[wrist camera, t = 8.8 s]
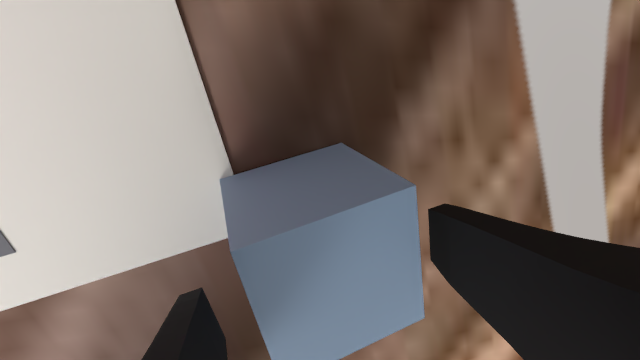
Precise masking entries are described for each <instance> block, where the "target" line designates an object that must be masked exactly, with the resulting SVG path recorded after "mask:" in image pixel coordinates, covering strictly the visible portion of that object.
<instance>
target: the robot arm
mask: <svg viewBox="0 0 640 360" xmlns="http://www.w3.org/2000/svg"><path fill="white" fill-rule="evenodd" d="M428 214H429V235H430V256H431V261H432V262H433V263H434V265H435V266H436V267H437V269H438V270H439V271H440V273H441V274H442V275H443V276H444V278H445V279H446V280H447V281H448V283H449V284H450V285H451V286H452V287H453V288H454V289H455V290H456V291H457V292H458V293H459V294H460V295H461V296H462V297H463V298H464V299H465V300H466V301H467V302H468V303H469V304H470V305H471V306H472V307H473V308H474V309H475V310H476V311H477V312H478V313H479V314H480V315H481V316H482V317H483V318H484V319H485V320H486V321H487V322H488V323H489V324H490V325H491V326H492V327H493V328H494V329H495V330H496V331H497V332H498V333H499V334H500V335H501V336H502V337H503V338H504V339H505V340H506V341H507V342H508V343H509V344H510V345H511V346H512V347H513V348H514V350H515V351H516V352H517V353H518V354H519V355H520V356H521V357H522V358H523V359H524V360H640V248H636V247H630V246H623V245H617V244H612V243H606V242H600V241H594V240H589V239H583V238H579V237H574V236H569V235H565V234H561V233H556V232H552V231H548V230H543V229H539V228H535V227H531V226H527V225H524V224H520V223H516V222H512V221H509V220H505V219H501V218H498V217H494V216H491V215H487V214H484V213H480V212H476V211H473V210H469V209H465V208H462V207H458V206H453V205H449V204H442V205H439V206H437V207H434V208H431V209H428ZM142 360H227V350H226V340H225V336H224V334H223V332H222V330H221V328H220V325H219V323H218V321H217V319H216V317H215V315H214V312H213V310H212V308H211V306H210V304H209V302H208V299H207V297H206V295H205V293H204V291H203V289H202V288H199V289H196V290H194V291H191V292H188V293H185V294H182V295H180V296H179V297H178V299H177V301H176V302H175V304H174V306H173V307H172V309H171V311H170V312H169V314H168V316H167V318H166V319H165V321H164V323H163V325H162V326H161V328H160V330H159V331H158V333H157V335H156V337H155V338H154V340H153V342H152V343H151V345H150V347H149V348H148V350H147V352H146V353H145V355H144V357H143V358H142Z"/></svg>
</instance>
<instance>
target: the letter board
mask: <svg viewBox="0 0 640 360" xmlns="http://www.w3.org/2000/svg"><path fill="white" fill-rule="evenodd" d="M232 175H234V174H233V171H232V168H231V165H230V162H229V159H228V156H227V153H226V150H225V147H224V144H223V141H222V138H221V135H220V132H219V129H218V126H217V123H216V120H215V117H214V114H213V111H212V108H211V105H210V102H209V99H208V97H207V94H206V91H205V88H204V85H203V82H202V79H201V76H200V73H199V70H198V67H197V64H196V61H195V58H194V55H193V52H192V49H191V46H190V43H189V40H188V37H187V34H186V31H185V28H184V25H183V22H182V19H181V16H180V13H179V10H178V7H177V4H176V1H175V0H0V311H3V310H6V309H9V308H12V307H15V306H19V305H22V304H25V303H28V302H31V301H34V300H37V299H40V298H43V297H46V296H50V295H53V294H56V293H59V292H62V291H65V290H68V289H71V288H74V287H77V286H81V285H84V284H87V283H90V282H93V281H96V280H99V279H102V278H105V277H109V276H112V275H115V274H118V273H121V272H124V271H127V270H130V269H133V268H136V267H140V266H143V265H146V264H149V263H152V262H155V261H158V260H161V259H164V258H167V257H171V256H174V255H177V254H180V253H183V252H186V251H189V250H192V249H195V248H198V247H202V246H205V245H208V244H211V243H214V242H217V241H220V240H223V239H226V238H228V233H227V227H226V220H225V213H224V207H223V200H222V193H221V186H220V180H219V179H222V178H226V177H229V176H232Z"/></svg>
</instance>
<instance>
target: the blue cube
mask: <svg viewBox="0 0 640 360" xmlns="http://www.w3.org/2000/svg"><path fill="white" fill-rule="evenodd" d="M219 180H220V186H221V193H222V200H223V207H224V213H225V220H226V227H227V233H228V240H229V247H230V253H231V255H232V258H233V260H234V263H235V266H236V268H237V271H238V273H239V276H240V279H241V281H242V284H243V287H244V289H245V292H246V294H247V297H248V300H249V302H250V305H251V307H252V310H253V313H254V315H255V318H256V321H257V323H258V326H259V328H260V331H261V334H262V336H263V339H264V342H265V344H266V347H267V349H268V352H269V355H270V357H271V360H339V359H341V358H343V357H345V356H347V355H349V354H351V353H353V352H355V351H357V350H359V349H361V348H364V347H366V346H368V345H370V344H372V343H374V342H376V341H378V340H380V339H382V338H384V337H386V336H388V335H390V334H392V333H394V332H397V331H399V330H401V329H403V328H405V327H407V326H409V325H411V324H413V323H415V322H417V321H419V320H421V319H423V318H425V317H424V302H423V287H422V271H421V256H420V241H419V226H418V210H417V195H416V185H415V184H413V183H411V182H409V181H408V180H406V179H404V178H402V177H401V176H399V175H397V174H395V173H394V172H392V171H390V170H388V169H387V168H385V167H383V166H381V165H380V164H378V163H376V162H374V161H373V160H371V159H369V158H367V157H366V156H364V155H362V154H360V153H359V152H357V151H355V150H353V149H352V148H350V147H348V146H346V145H345V144H343V143H339V144H335V145H332V146H329V147H325V148H322V149H319V150H315V151H312V152H309V153H305V154H302V155H299V156H296V157H292V158H289V159H286V160H282V161H279V162H276V163H272V164H269V165H266V166H262V167H259V168H256V169H252V170H249V171H246V172H242V173H239V174H236V175H232V176H229V177H226V178H222V179H219Z"/></svg>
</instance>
